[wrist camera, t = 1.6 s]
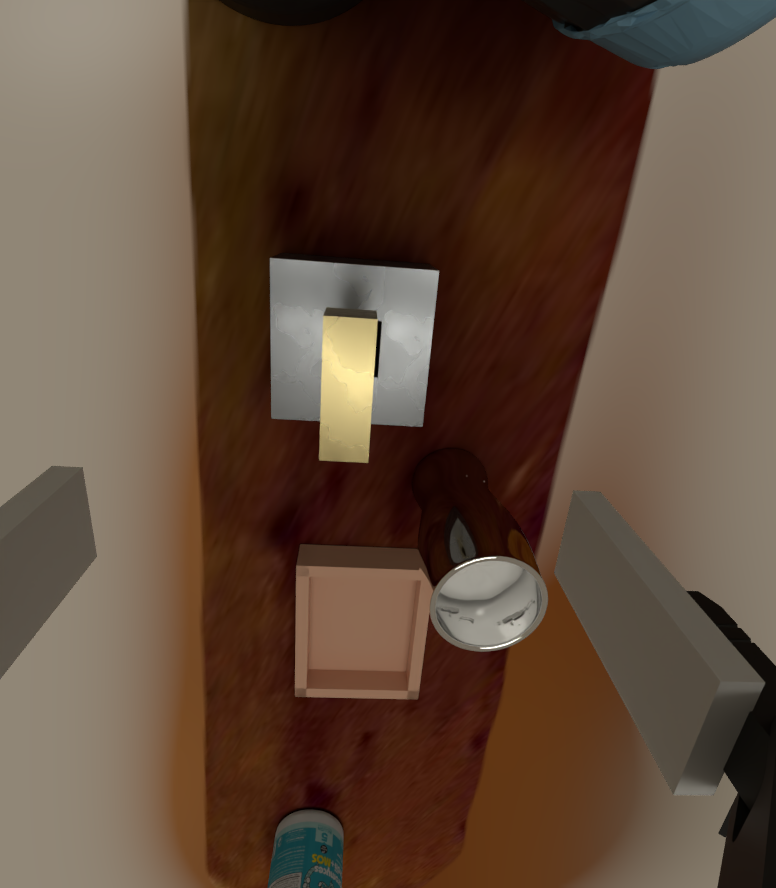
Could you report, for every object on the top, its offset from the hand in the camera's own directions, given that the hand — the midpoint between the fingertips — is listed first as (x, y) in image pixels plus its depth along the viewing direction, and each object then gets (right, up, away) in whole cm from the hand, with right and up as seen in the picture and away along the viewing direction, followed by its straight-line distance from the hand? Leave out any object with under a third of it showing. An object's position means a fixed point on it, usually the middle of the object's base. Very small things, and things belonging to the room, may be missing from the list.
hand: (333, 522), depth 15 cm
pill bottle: (-7, -40, +45) cm, 61 cm away
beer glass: (+6, -1, +29) cm, 30 cm away
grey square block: (-1, +10, +24) cm, 26 cm away
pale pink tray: (-1, -13, +33) cm, 36 cm away
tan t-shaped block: (-1, +10, +24) cm, 26 cm away
